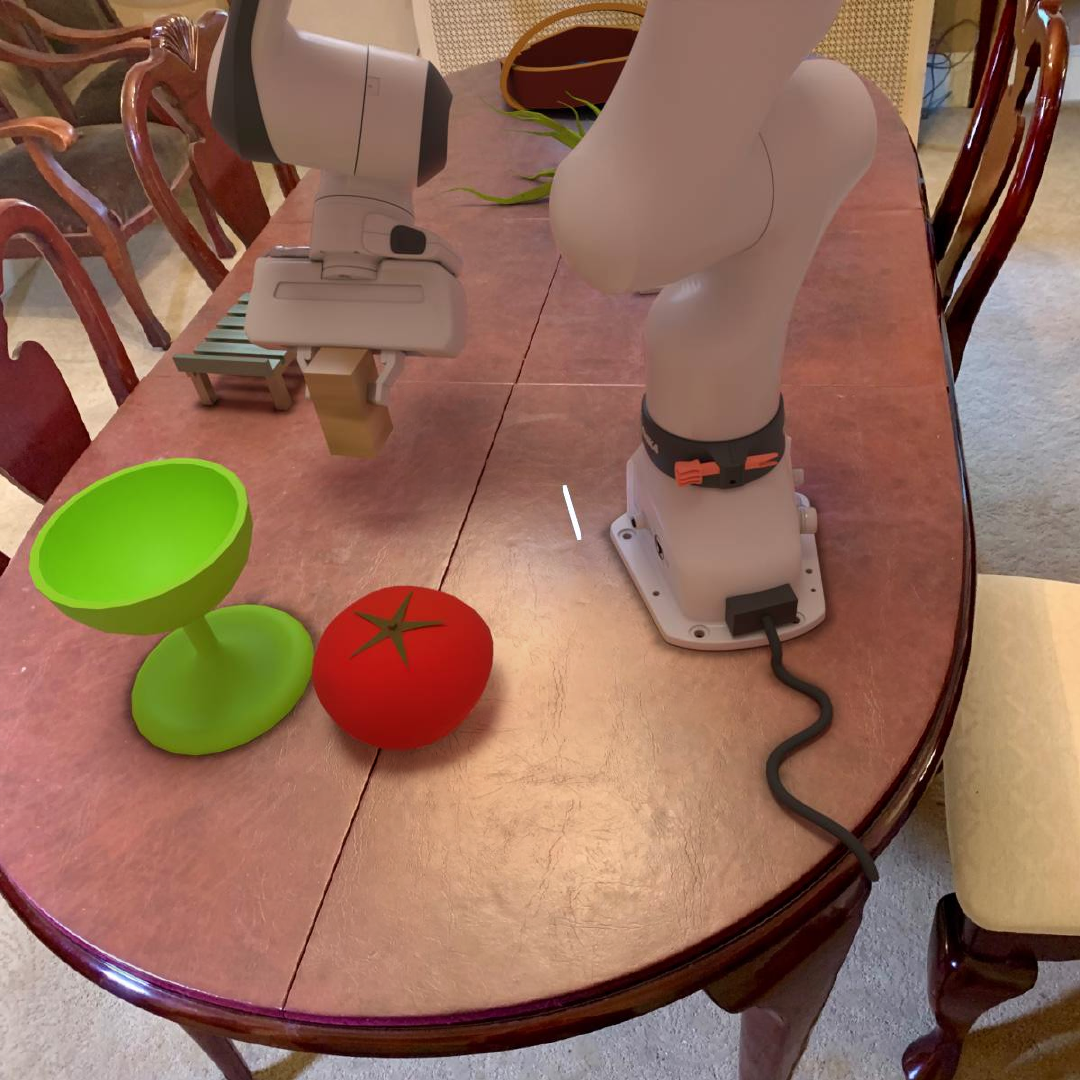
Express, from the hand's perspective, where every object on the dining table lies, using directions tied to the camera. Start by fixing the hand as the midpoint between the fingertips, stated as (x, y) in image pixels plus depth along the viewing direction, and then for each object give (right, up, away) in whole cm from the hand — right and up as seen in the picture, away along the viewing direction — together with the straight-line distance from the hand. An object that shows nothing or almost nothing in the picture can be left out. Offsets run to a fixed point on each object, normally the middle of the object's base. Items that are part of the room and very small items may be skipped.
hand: (347, 403), depth 83 cm
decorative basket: (+27, +69, +89) cm, 116 cm away
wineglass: (-11, -24, -1) cm, 26 cm away
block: (+1, -3, +4) cm, 5 cm away
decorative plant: (+18, +40, +60) cm, 74 cm away
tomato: (+7, -26, -5) cm, 27 cm away
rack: (-16, +9, +33) cm, 38 cm away
